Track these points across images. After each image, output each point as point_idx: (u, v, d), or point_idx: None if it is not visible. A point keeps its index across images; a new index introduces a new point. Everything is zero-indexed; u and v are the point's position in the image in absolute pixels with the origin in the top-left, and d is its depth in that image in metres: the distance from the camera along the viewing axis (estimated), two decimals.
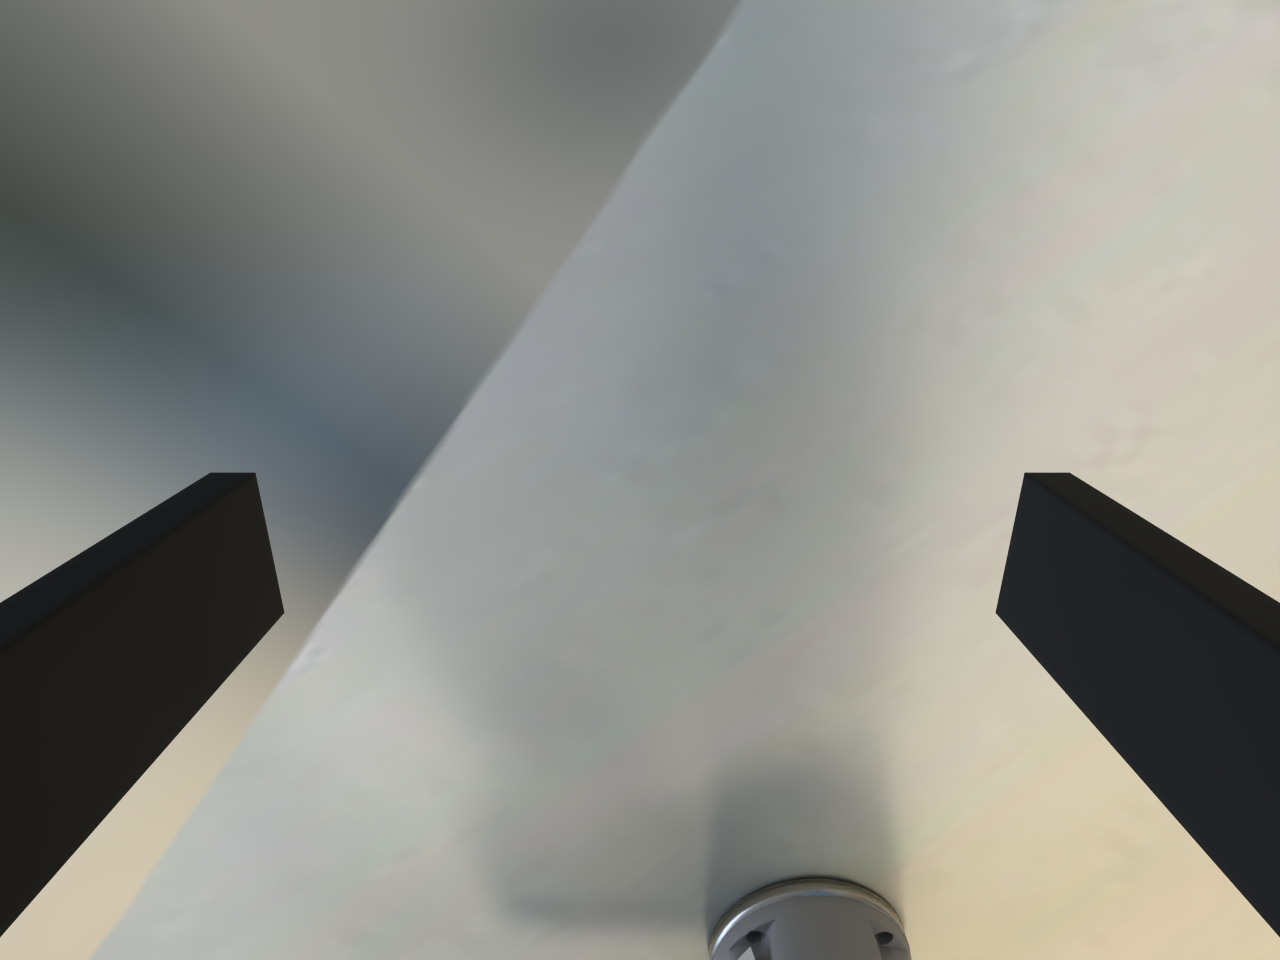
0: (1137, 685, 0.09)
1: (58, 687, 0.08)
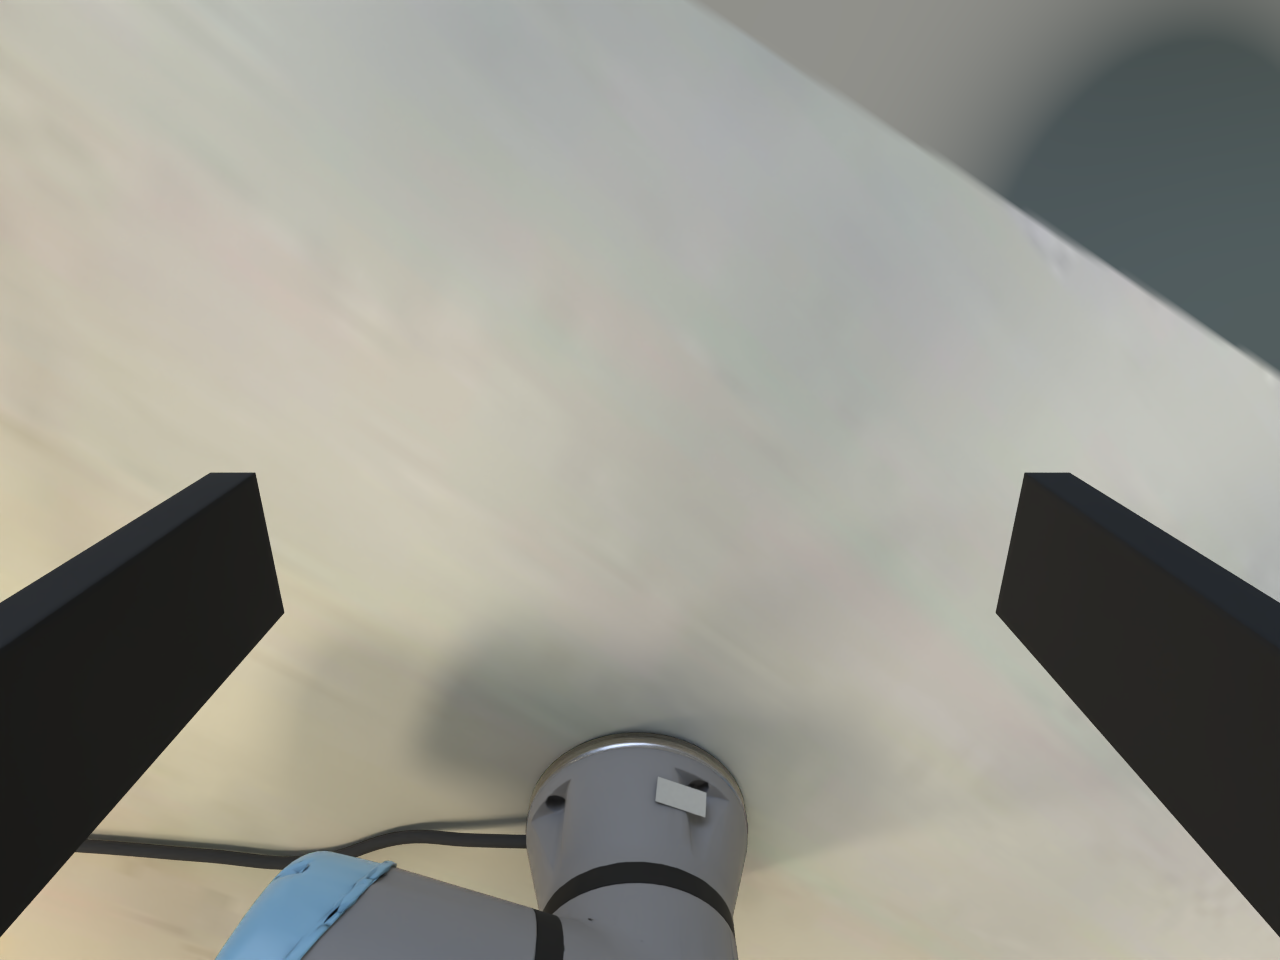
0: (1137, 685, 0.09)
1: (58, 687, 0.08)
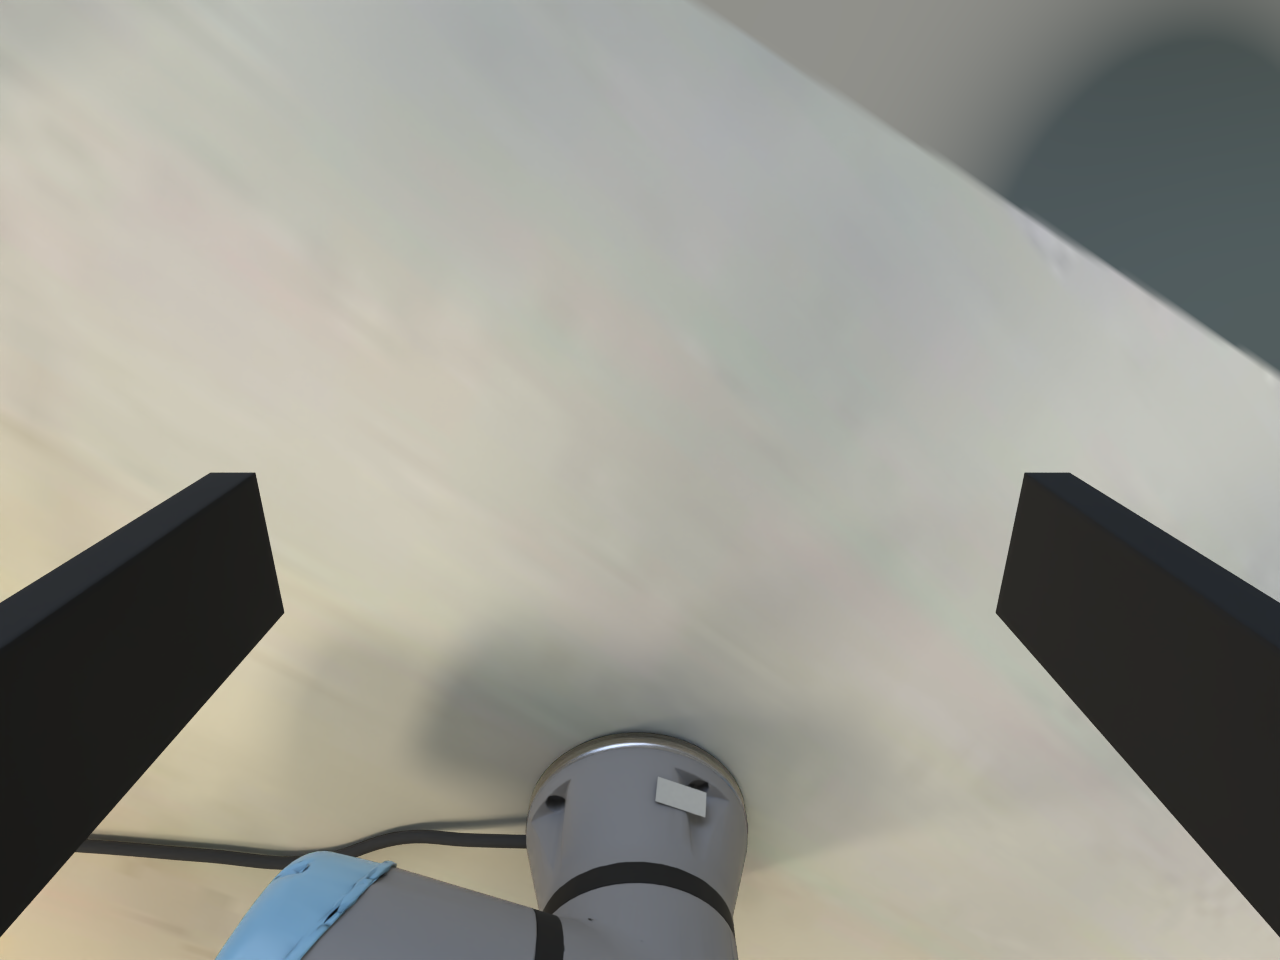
0: (1137, 685, 0.09)
1: (58, 687, 0.08)
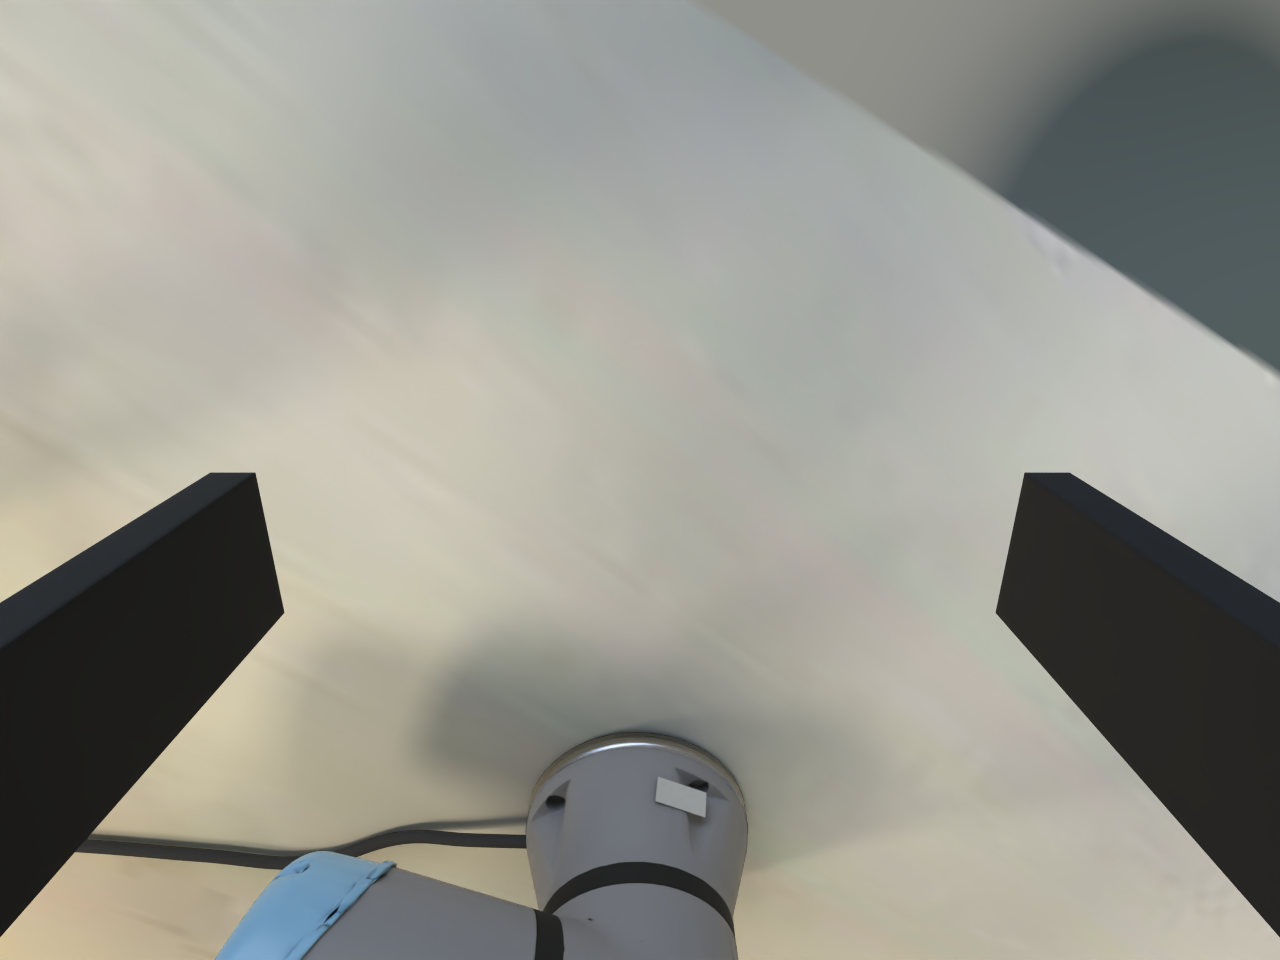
0: (1137, 685, 0.09)
1: (58, 687, 0.08)
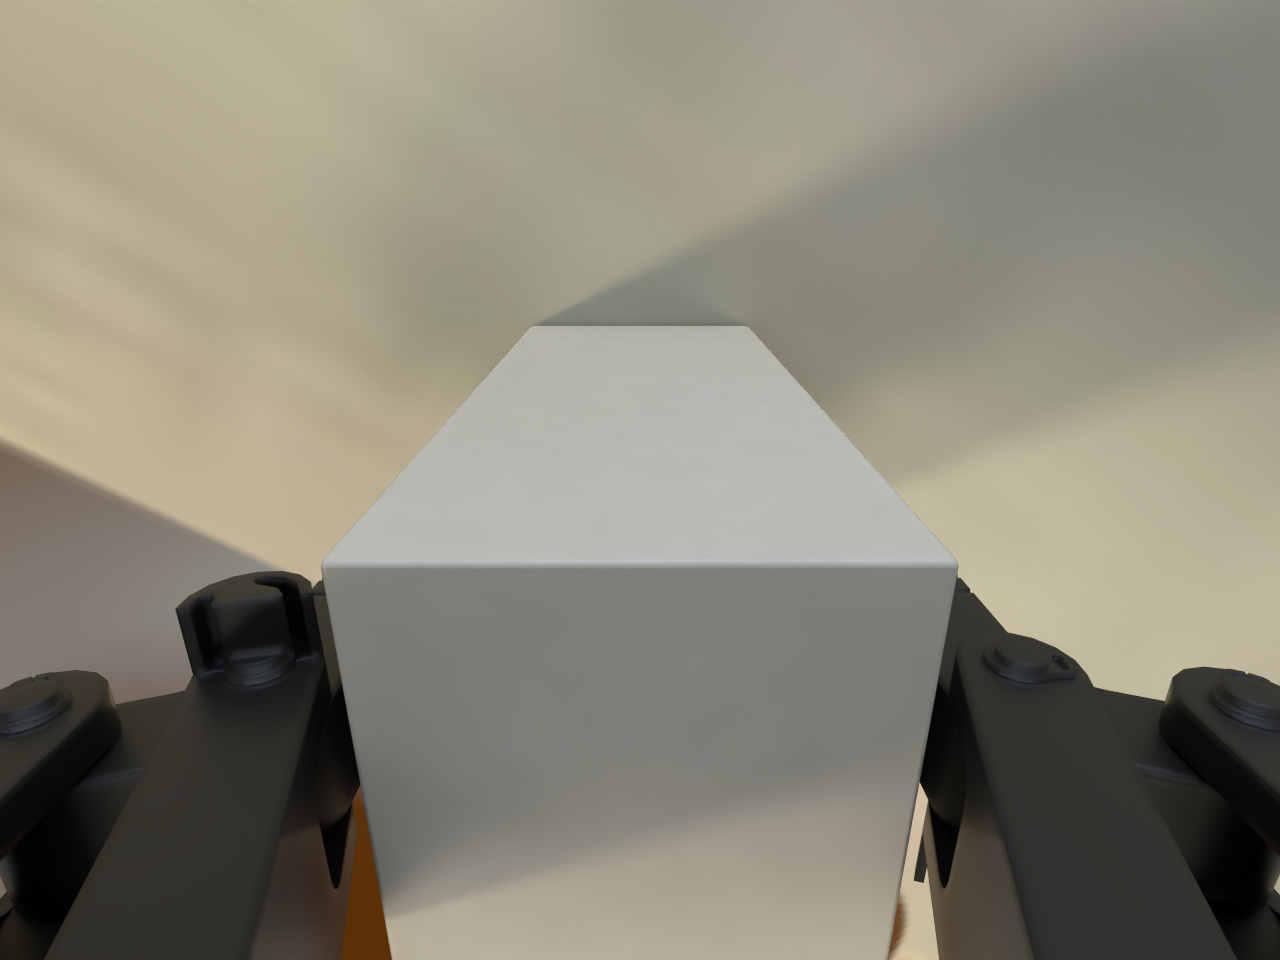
0: None
1: None
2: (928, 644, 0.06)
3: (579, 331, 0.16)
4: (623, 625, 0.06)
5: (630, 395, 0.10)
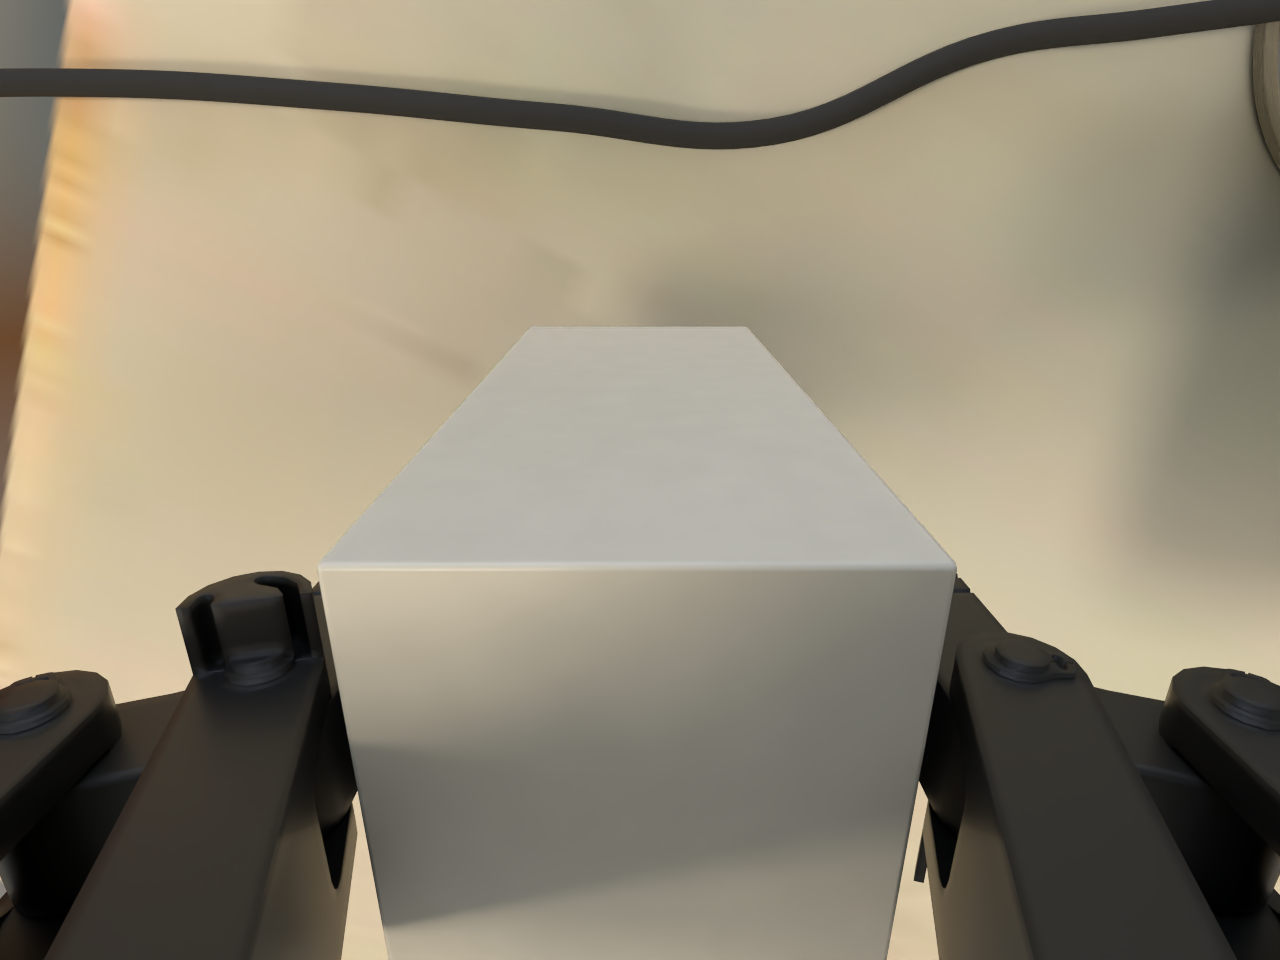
0: None
1: None
2: (927, 647, 0.06)
3: (578, 332, 0.16)
4: (621, 628, 0.06)
5: (629, 397, 0.10)
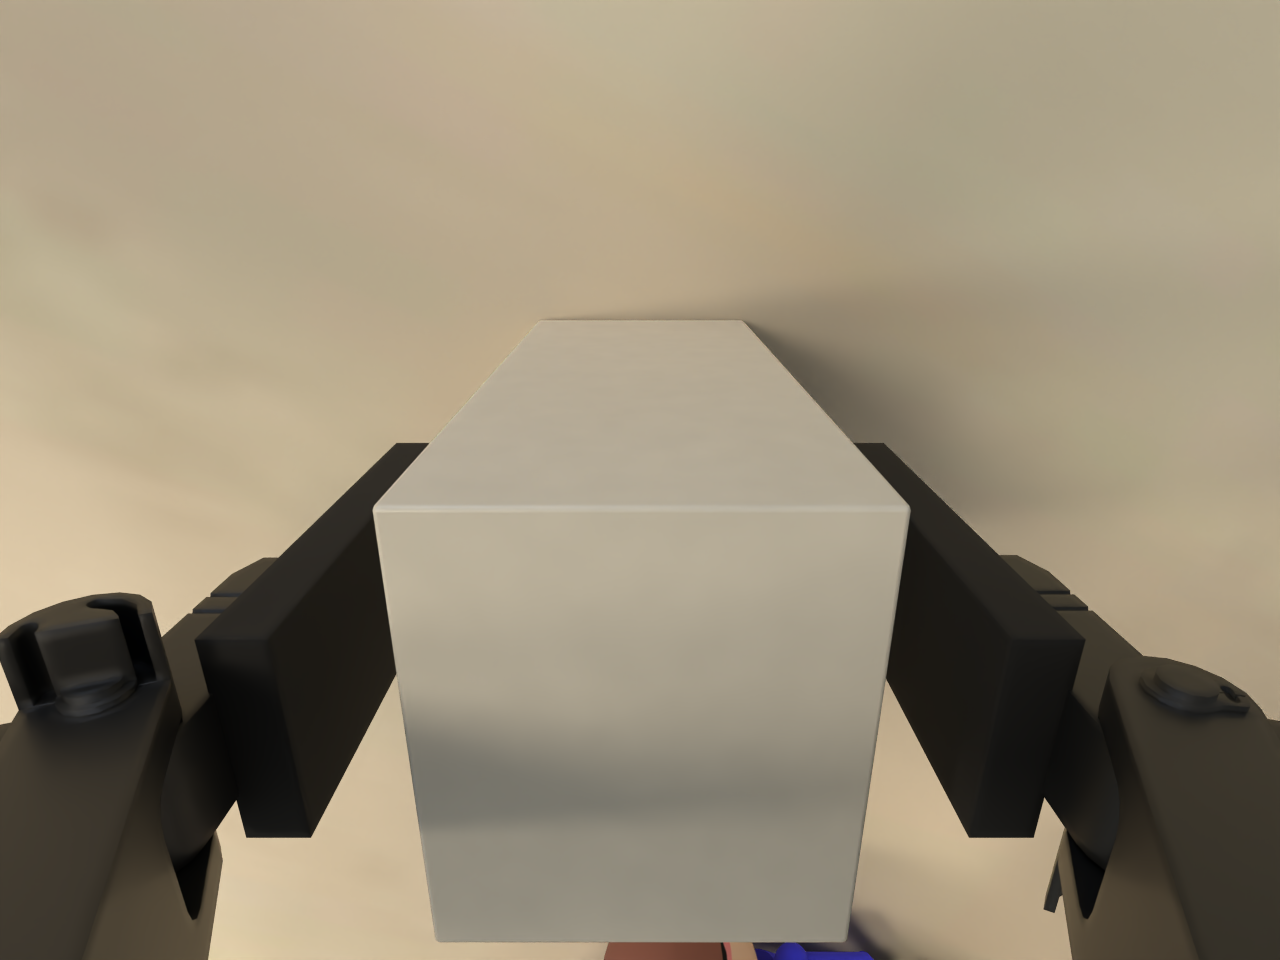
0: None
1: (348, 610, 0.09)
2: (886, 579, 0.07)
3: (584, 324, 0.17)
4: (628, 562, 0.07)
5: (632, 379, 0.11)
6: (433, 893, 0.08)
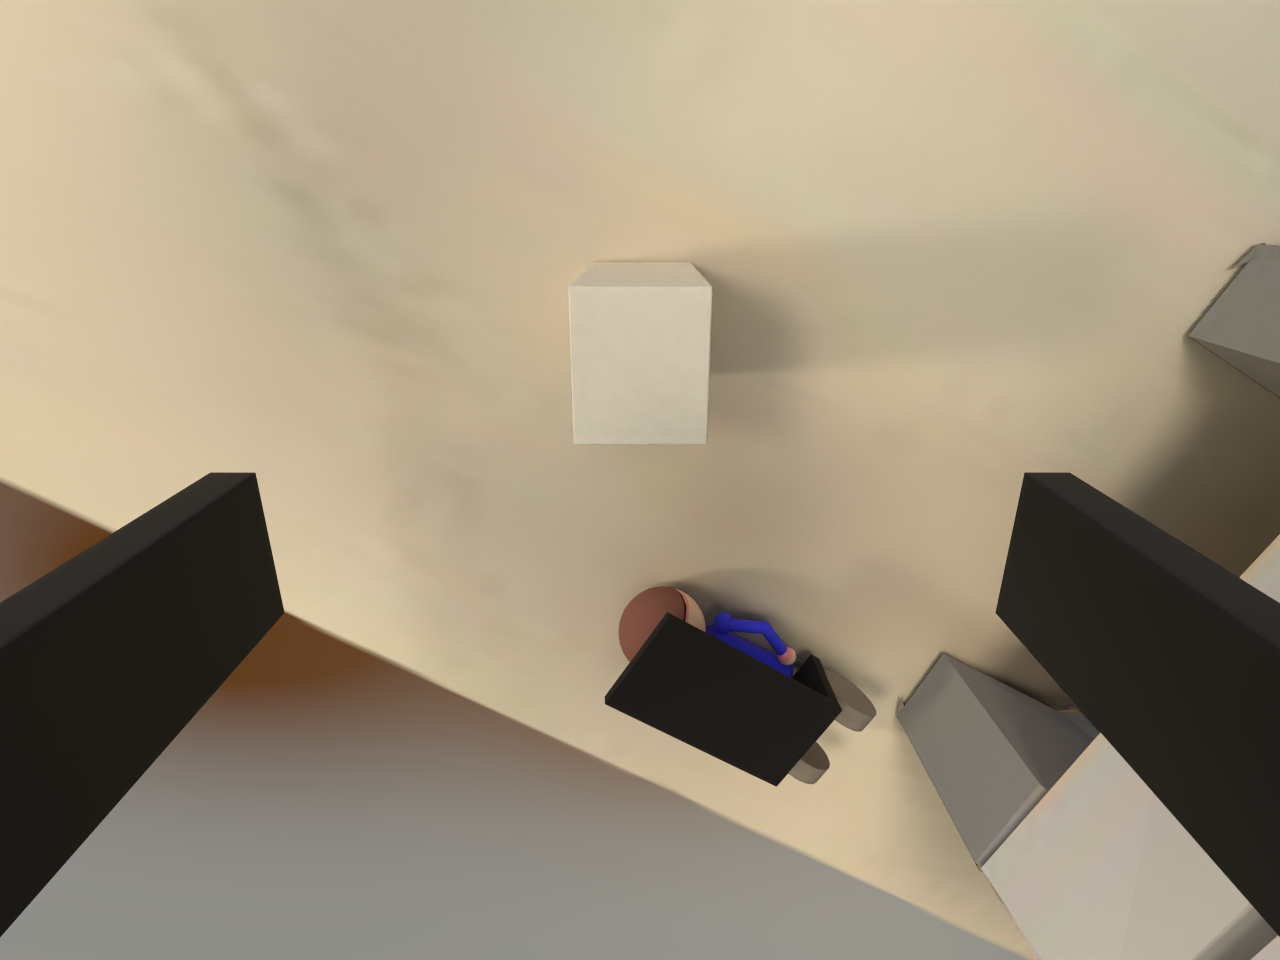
0: (1137, 685, 0.09)
1: (58, 686, 0.08)
2: (707, 308, 0.25)
3: (613, 263, 0.35)
4: (636, 303, 0.25)
5: (637, 273, 0.30)
6: (574, 423, 0.27)
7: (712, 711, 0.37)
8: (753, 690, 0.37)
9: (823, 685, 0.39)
